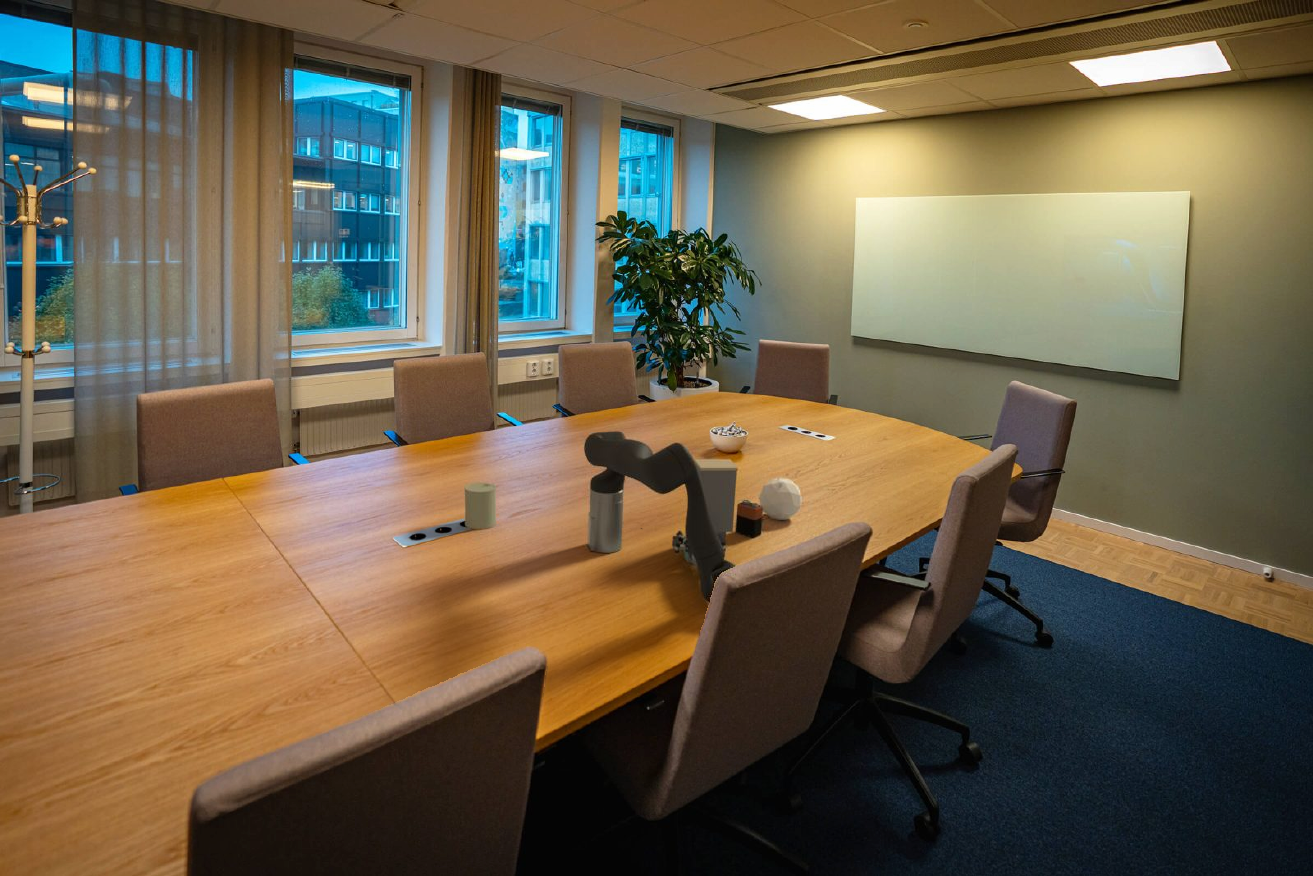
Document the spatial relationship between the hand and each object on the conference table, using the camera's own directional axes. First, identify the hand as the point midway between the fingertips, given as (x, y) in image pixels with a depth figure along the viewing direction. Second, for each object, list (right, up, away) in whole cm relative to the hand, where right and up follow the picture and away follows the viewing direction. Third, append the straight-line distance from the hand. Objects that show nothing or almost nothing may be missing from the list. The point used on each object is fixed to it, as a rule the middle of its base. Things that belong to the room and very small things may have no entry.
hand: (692, 533), depth 220 cm
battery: (+18, -3, +21) cm, 27 cm away
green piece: (-1, -6, +3) cm, 7 cm away
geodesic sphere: (+29, +1, +36) cm, 46 cm away
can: (-62, 0, +19) cm, 65 cm away
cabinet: (+6, -5, +9) cm, 12 cm away
